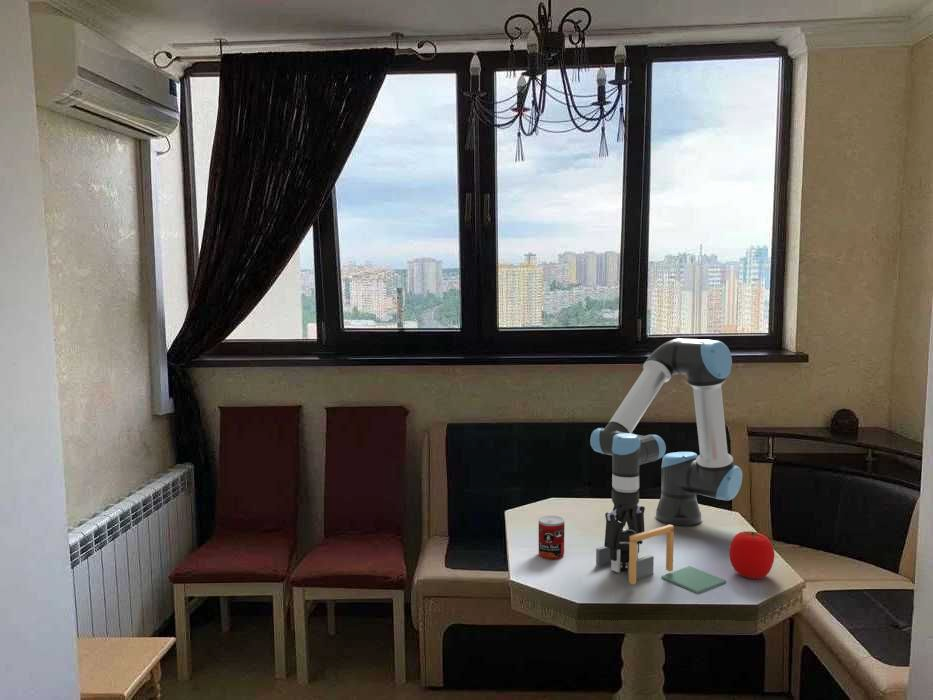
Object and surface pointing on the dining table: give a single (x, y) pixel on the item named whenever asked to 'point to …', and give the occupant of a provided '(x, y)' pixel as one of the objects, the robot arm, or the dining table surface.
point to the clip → (642, 564)
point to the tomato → (751, 554)
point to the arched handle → (644, 535)
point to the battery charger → (625, 548)
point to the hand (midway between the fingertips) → (624, 567)
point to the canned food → (551, 537)
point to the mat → (693, 579)
